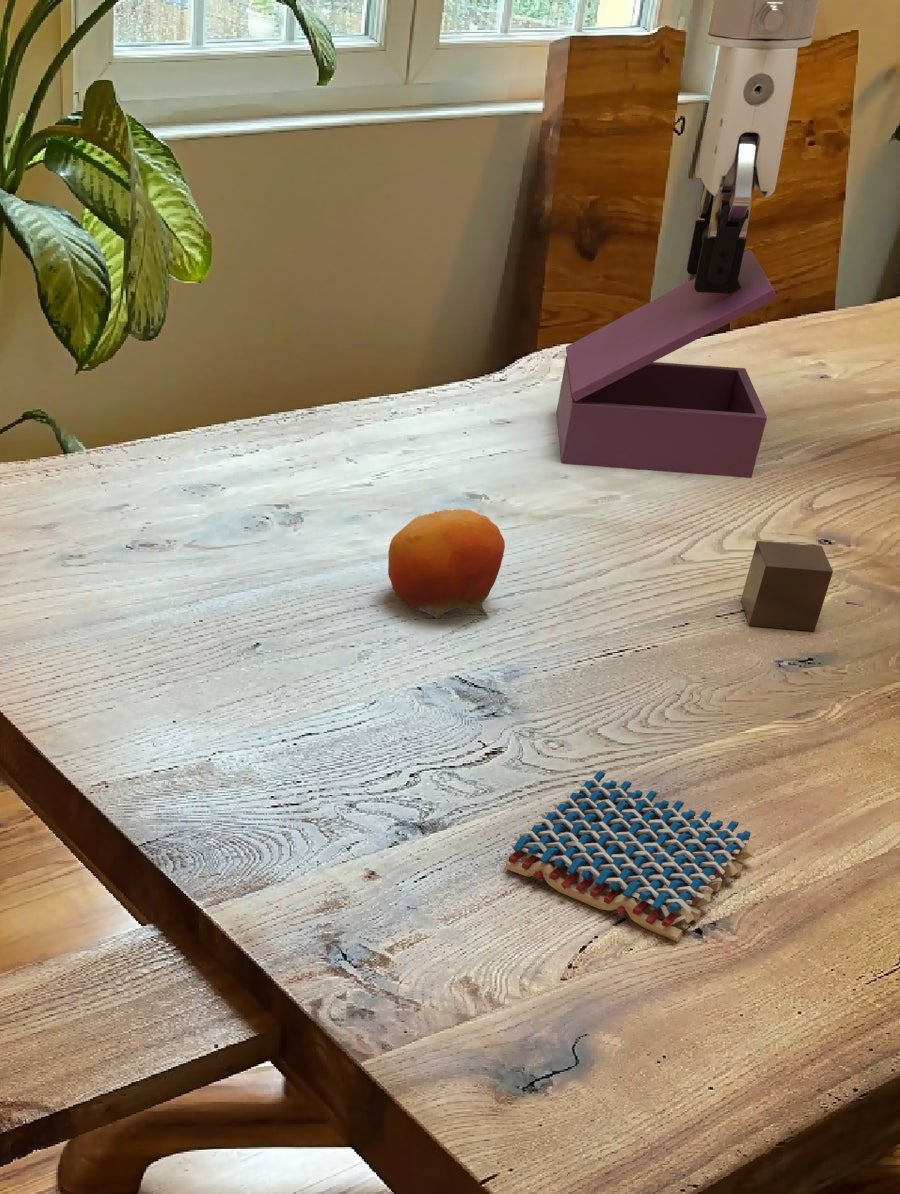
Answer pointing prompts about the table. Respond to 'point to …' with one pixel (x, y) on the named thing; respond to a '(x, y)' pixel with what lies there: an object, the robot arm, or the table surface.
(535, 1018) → the table surface
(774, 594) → the block
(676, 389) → the box
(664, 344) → the lid
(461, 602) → the fruit
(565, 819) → the woven mat
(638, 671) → the table surface
